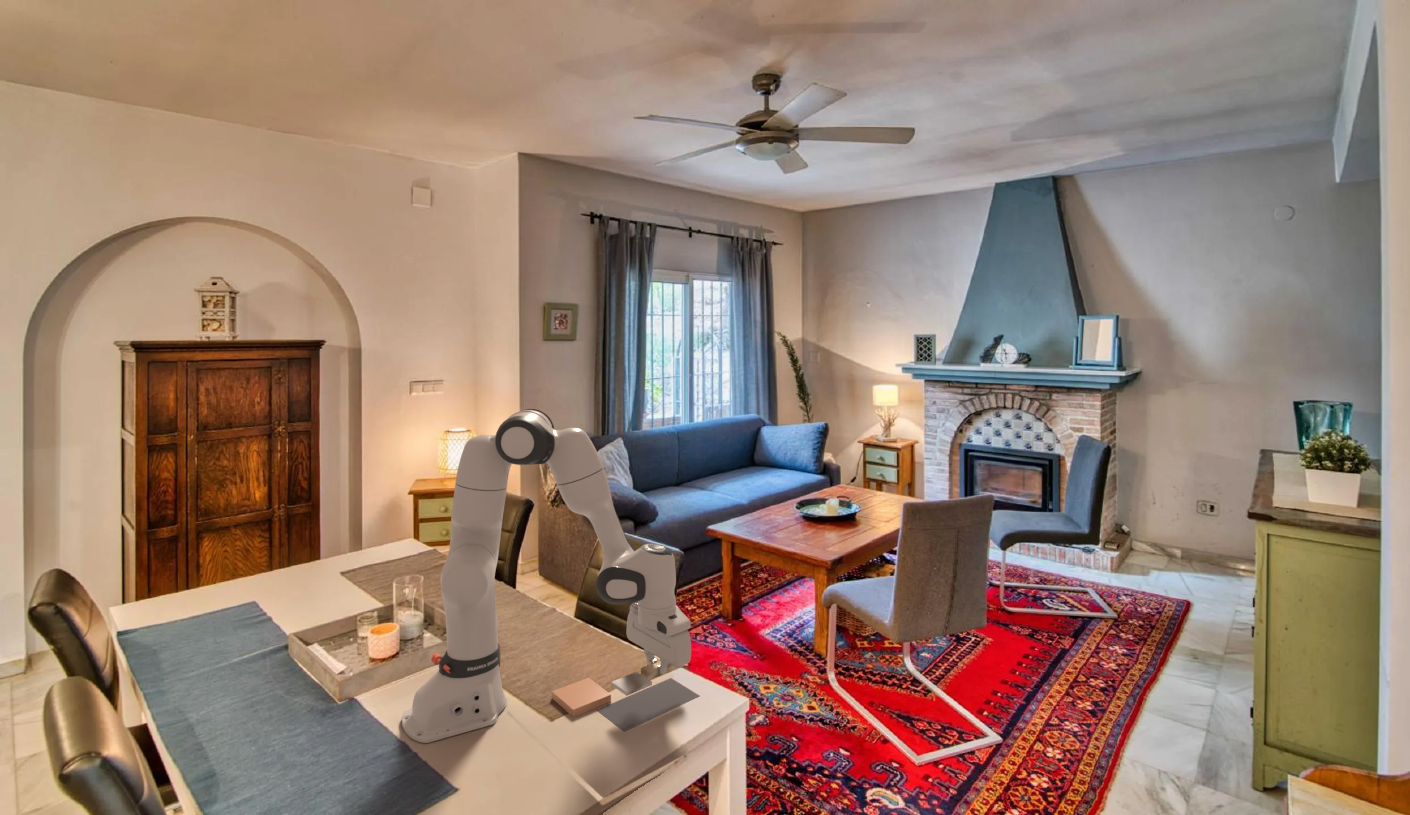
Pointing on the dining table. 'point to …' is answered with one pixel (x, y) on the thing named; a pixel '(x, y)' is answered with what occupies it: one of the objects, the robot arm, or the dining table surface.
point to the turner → (640, 678)
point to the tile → (581, 696)
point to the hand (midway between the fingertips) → (657, 669)
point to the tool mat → (647, 704)
